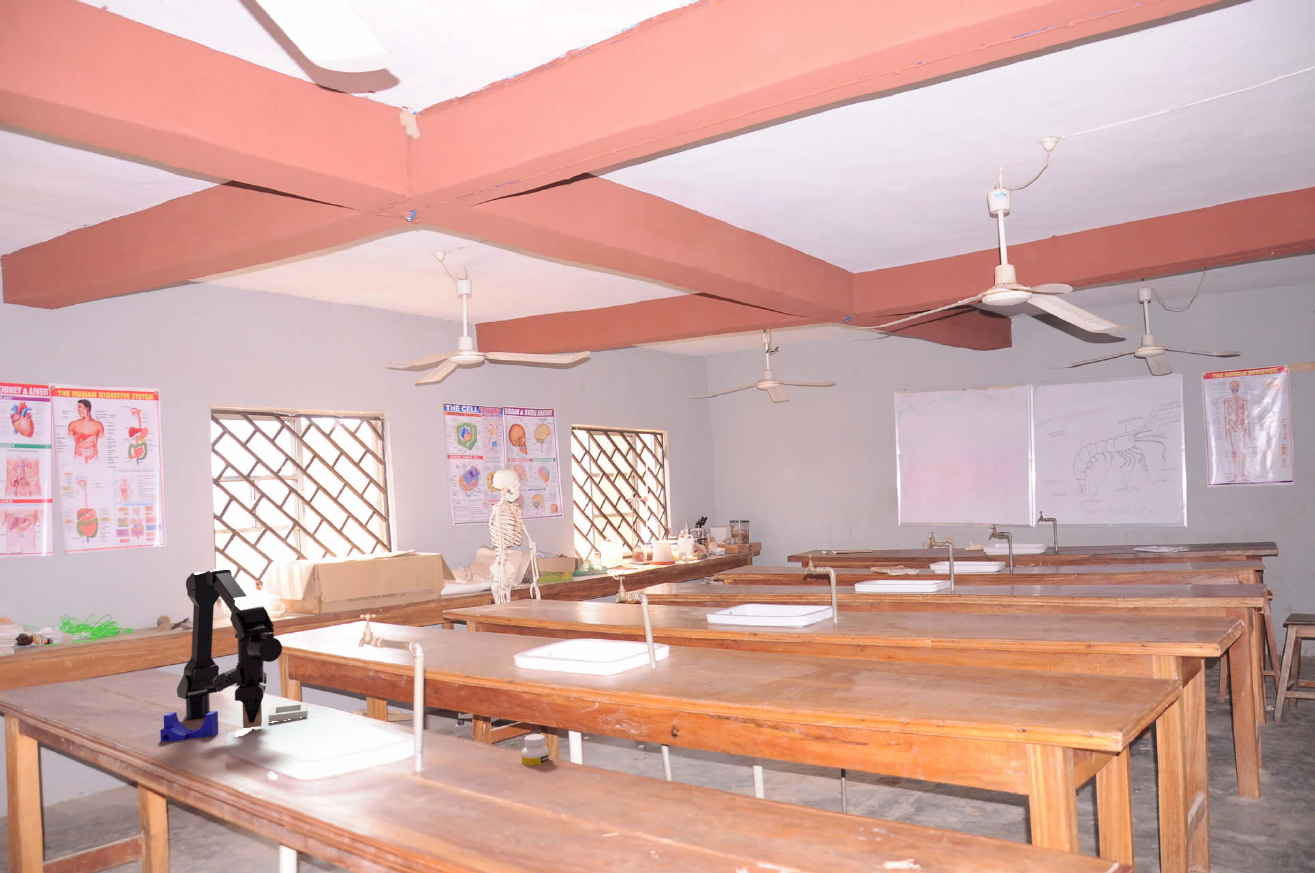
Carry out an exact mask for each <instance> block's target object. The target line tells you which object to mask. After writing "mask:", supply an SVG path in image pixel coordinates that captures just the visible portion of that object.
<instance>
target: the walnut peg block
mask: <svg viewBox="0 0 1315 873" xmlns="http://www.w3.org/2000/svg"><path fill="white" fill-rule="evenodd" d="M262 708H263V707H262V704H261V705H260V707H259V710H258V713H257V715H256V718H255V721H254V722H253V723H249V720H248V717H247V713H246V709H245V706H244V704H243V703H242V728H251V727H259V726H261V727H262V723H263V720H262V719H263V718H262V717H263V714H262V711H263V709H262ZM259 728H260V727H259Z"/></svg>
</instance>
